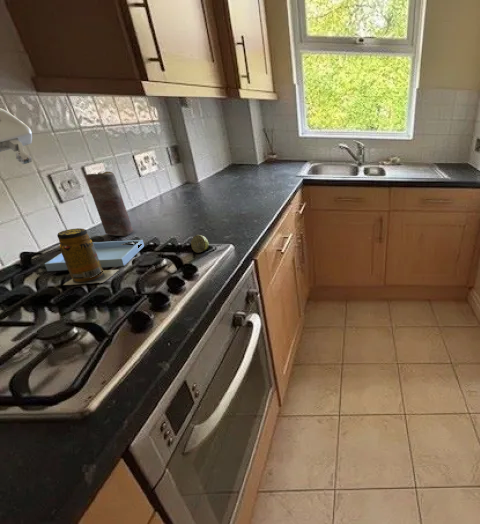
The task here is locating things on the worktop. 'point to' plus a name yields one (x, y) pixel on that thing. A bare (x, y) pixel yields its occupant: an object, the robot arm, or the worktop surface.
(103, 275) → the condiment
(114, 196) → the candle
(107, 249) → the blue tray
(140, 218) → the worktop surface
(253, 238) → the worktop surface
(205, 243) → the lime
